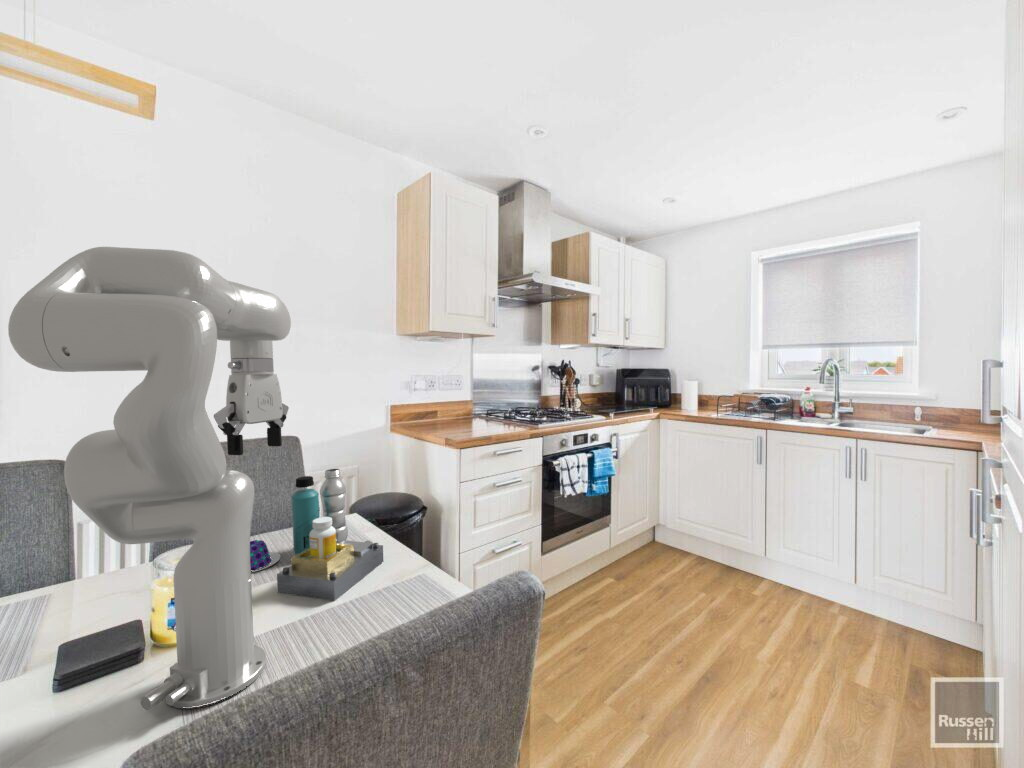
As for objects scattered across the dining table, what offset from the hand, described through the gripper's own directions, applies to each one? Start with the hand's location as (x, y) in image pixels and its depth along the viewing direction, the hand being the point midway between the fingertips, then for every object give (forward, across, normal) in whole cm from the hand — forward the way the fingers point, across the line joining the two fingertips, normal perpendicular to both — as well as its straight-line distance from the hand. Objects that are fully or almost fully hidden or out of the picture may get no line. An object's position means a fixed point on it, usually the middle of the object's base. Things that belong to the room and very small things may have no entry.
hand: (256, 450), depth 89 cm
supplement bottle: (+26, +8, -9) cm, 29 cm away
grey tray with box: (+30, +12, -10) cm, 34 cm away
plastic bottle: (+31, +26, +2) cm, 40 cm away
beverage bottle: (+31, +18, +4) cm, 36 cm away
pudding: (+31, +11, +14) cm, 36 cm away
